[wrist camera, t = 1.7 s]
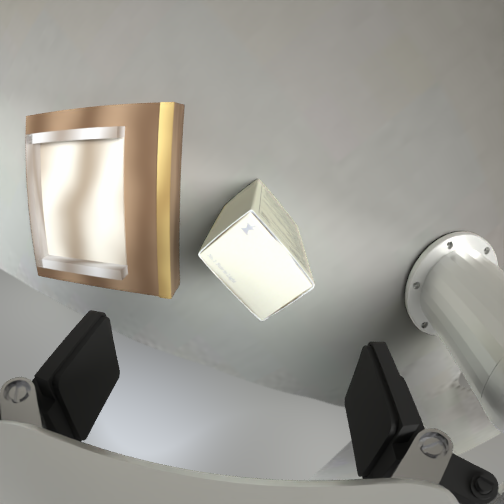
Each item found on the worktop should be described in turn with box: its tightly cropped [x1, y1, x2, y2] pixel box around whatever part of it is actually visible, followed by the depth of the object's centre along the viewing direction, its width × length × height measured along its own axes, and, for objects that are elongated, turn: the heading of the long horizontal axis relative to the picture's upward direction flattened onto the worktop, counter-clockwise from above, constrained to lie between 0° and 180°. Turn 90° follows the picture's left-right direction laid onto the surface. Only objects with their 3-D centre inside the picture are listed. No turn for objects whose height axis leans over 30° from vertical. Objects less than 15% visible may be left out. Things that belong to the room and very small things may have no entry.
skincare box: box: [198, 179, 315, 321], centre depth 24 cm, size 6×4×12 cm
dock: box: [26, 102, 184, 299], centre depth 28 cm, size 17×18×4 cm
